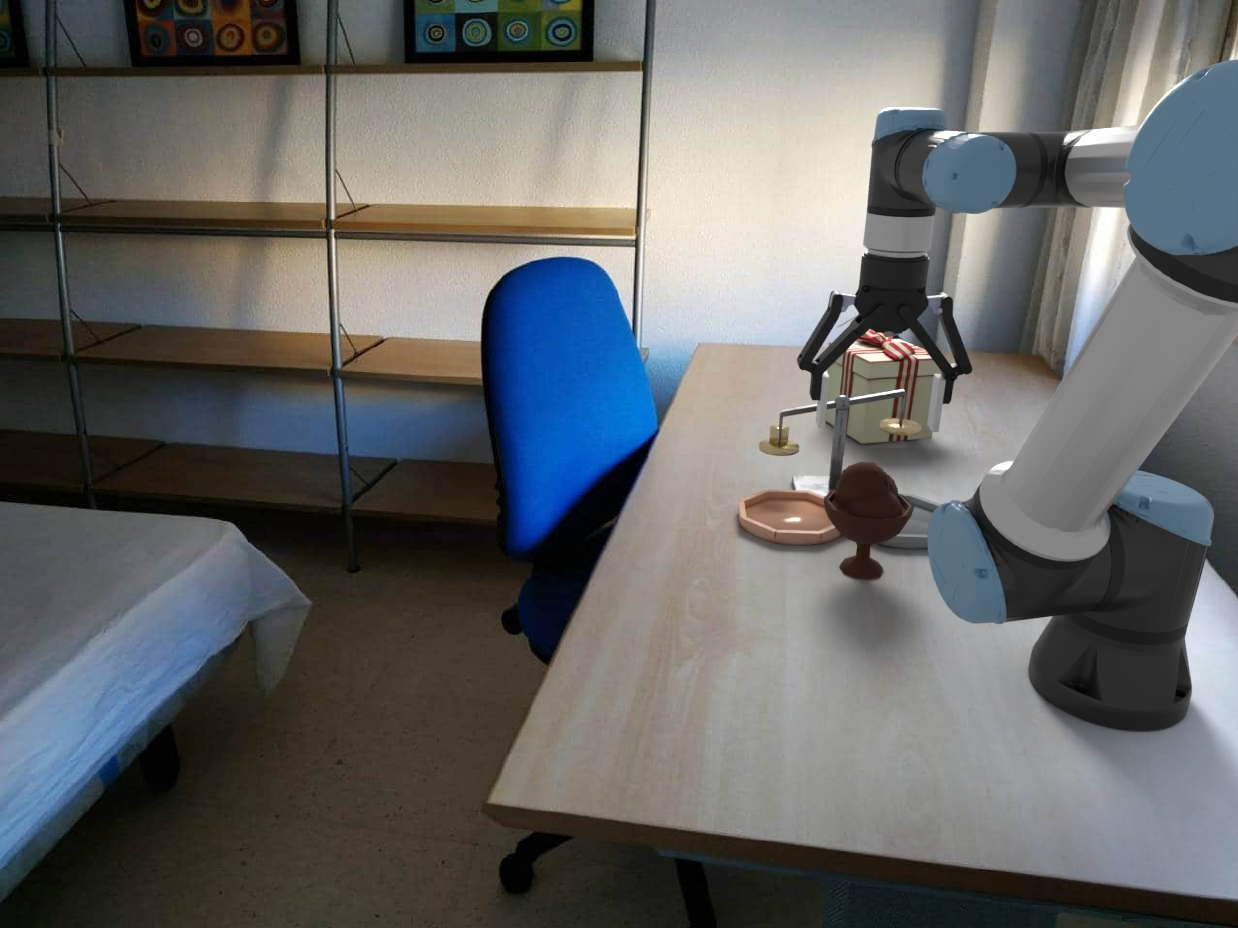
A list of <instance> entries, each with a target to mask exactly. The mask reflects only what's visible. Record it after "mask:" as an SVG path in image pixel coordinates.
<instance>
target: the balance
mask: <svg viewBox="0 0 1238 928" xmlns="http://www.w3.org/2000/svg"><path fill="white" fill-rule="evenodd" d="M897 397H902V401H901V409H900V418H899V419H897V418H892V419H885V420H882V421H880V424H879V428H880V429H881V430H882V431H884V432H886V433H890V434H894V435H903V436H908V435H916V434H919V433H920V432H921V425H920V424H919V423H917V422H914V421H911V420H906V419H903V414H904V406H905V397H906V392H905V391H904V389H900V390H894V391H888V392H883V393H877V394H871V395H865V396H859V397H853V398H849V397H847V396H846V395H840V396H838V397H836V399H835V401H830V402H827V409H833V408H836V410H835V421H834V426H833V434H832V446H831V453H830V454H831V455H830V464H829V475H828V476H827V475H825V476H824V475H823V476H822V475H800V474H799V475H795V474H793V475H791V485H792V490H804V491H811V492H813V493H816V494H819V495H821V496H824V497H825V496H826V495H827V494H828V493H829V492H830V491H831V490H832V489H836V484H837V482H838V480H839V478H840V476H841V475H842V472H843V467H844V466H843V464H844V455H845V454H844V453H845V444H846V436H847V435H846V425H847V415H848V409H849V407H850V405H856V404H862V403H868V402H874V401H879V400H885V399H891V398H897ZM813 412H817V403H814V404H807V405H802V406H796V407H791V408H790V407H789V408H785V409H780V413H779V419H778V420H779V421H778V424H773V425H770V426H769V438H766V439H764V440H761V441H760V442H759V444H758V449H759V452H761V453H764V454H766V455H770V456H776V457H789V456H794V455H797V454H798V453H799V452H800V445H799V444H798V442H796V441H794V440H790V439H789V435H790V434H789V431H790V427H789V426H788V425H785V424H783V423H784V422H783V421H784V420H783V419H784V418H785V417H791V416H796V415H801V414H809V413H813Z"/></svg>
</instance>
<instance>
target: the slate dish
mask: <svg viewBox="0 0 1238 928" xmlns="http://www.w3.org/2000/svg"><path fill="white" fill-rule="evenodd" d="M898 494H901V495H904V496H905V497H906V498H907V499H908V500H909V501H910V502H911V503H912V504H913V505H914V506H915V507H914V509H913V512H912V515H911V517H910V519H909V520H908V522H907V523H906V525H905V526H904V528H903V529H902V530H901V532H900V533H899V534H898V535H896V536H895V537H893V538H892V539H890V540H888V541H885V542H882V543H877V544H876V545H880V546H884V547H889V548H890V547H891V548H896V549H905V550H920V549H928V544H927V536H928V527H929V522H930V519H931V516H932V514H933V512H934V511H935V509H936V508H937V507H939V506H940V505H942V503H938V502H935V501H933V500H929V499H926V498H925V497H924V498H923V497H921V496H918V495H915V494H912V493H901V492H900V493H899V492H898Z"/></svg>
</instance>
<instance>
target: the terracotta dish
mask: <svg viewBox="0 0 1238 928" xmlns="http://www.w3.org/2000/svg"><path fill="white" fill-rule="evenodd" d="M737 508H738V515H739V516H738V521H739V525H741V527H742V529H743V530H745V531H746V532H747V533H749V534H751V535H752V536H755V537H756V538H758V539H759V538H760V539H762V540H765V541H769V542H772V543H775V544H782V545H790V546H791V545H793V546H808V545H811V546H812V545H818V544H819V545H820V544H824V543H828V542H831V541H833V540H836V539H837V538H839V537H841V536H843V535H842V534H841V533H840V532H839V531H838V530H837V529H836V528H835V526H834V525H833V524H832V522H831V521H830V520H829V518H828V516H827V513H826V511H825V507H824V496H821V495H819V494H816V493H813V492H811V491H804V490H794V489H773V488H772V489H764V490H762V491H759V492H756V493H754V494H750V495H747V496H746V497H742V498H740V499H739V500H738V507H737Z"/></svg>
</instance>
